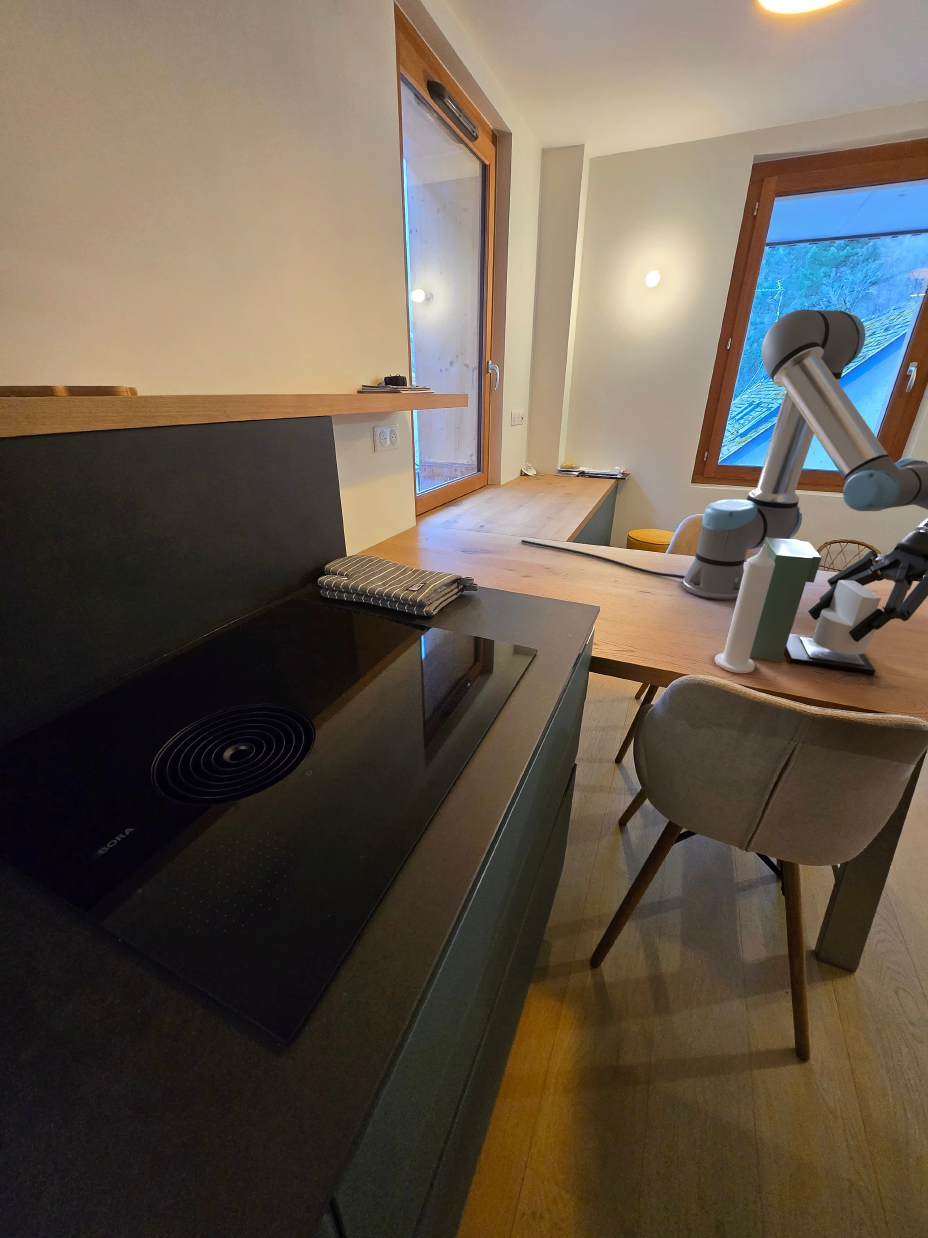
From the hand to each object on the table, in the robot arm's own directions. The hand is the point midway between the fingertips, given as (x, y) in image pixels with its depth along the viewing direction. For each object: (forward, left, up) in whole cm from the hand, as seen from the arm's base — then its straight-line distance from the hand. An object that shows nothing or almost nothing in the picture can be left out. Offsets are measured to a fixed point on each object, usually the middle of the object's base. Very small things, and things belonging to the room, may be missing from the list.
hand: (831, 626), depth 97 cm
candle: (-17, -8, -7) cm, 20 cm away
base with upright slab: (+3, +2, -4) cm, 6 cm away
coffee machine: (-3, +2, -7) cm, 8 cm away
